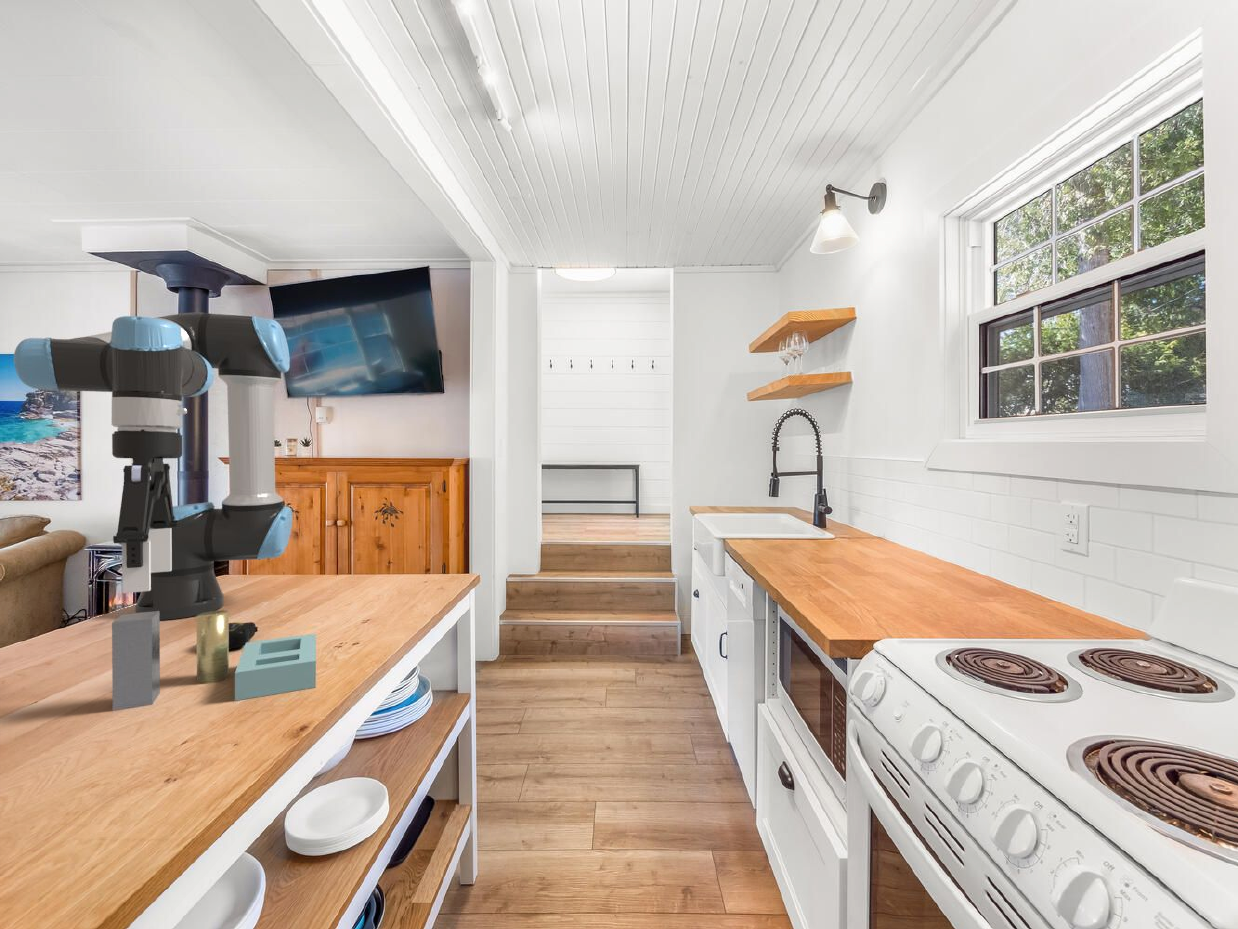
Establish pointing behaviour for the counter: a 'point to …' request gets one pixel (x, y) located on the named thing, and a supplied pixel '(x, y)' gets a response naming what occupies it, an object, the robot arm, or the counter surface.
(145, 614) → the square bit
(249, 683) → the socket block
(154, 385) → the robot arm
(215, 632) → the round bit
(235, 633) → the tape measure
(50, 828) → the counter surface
